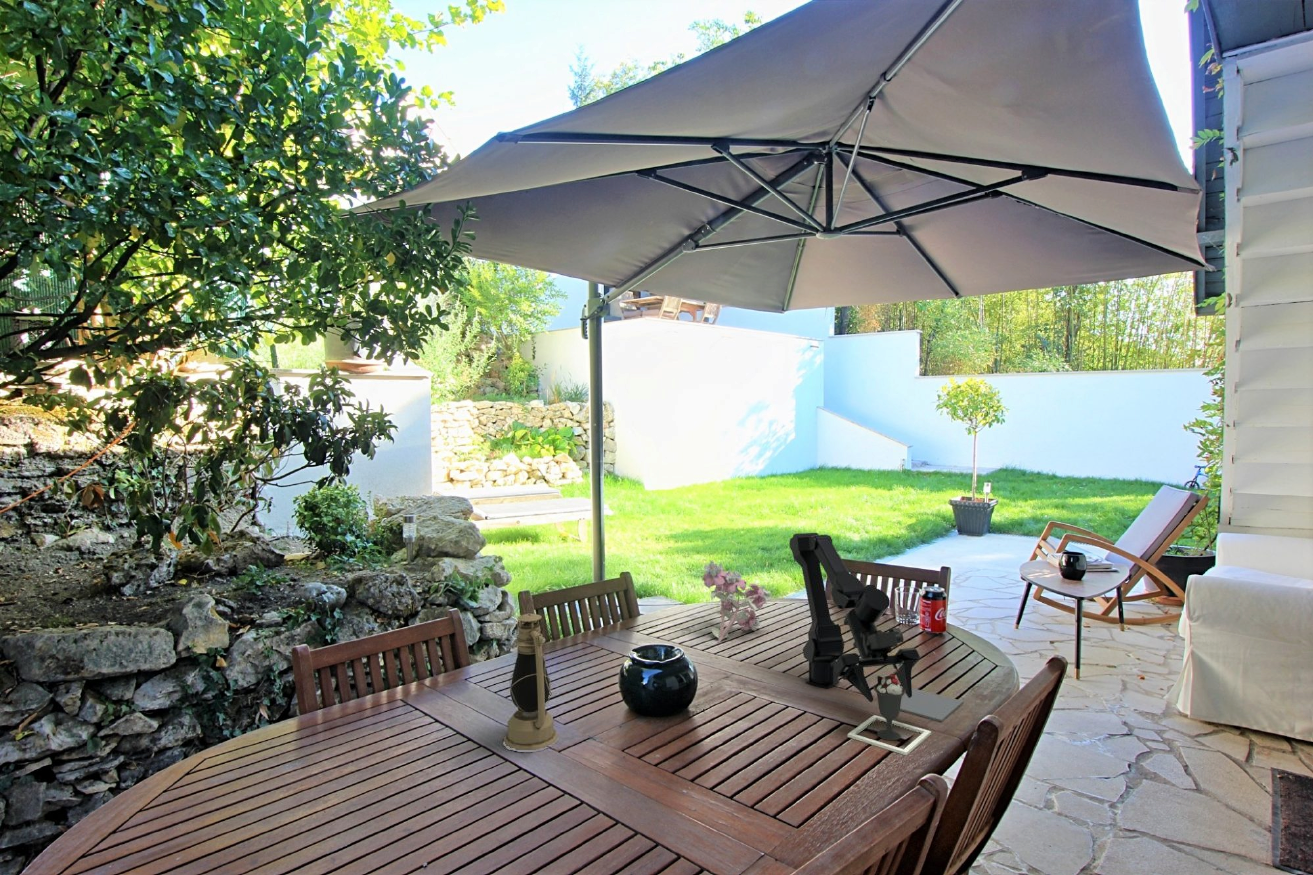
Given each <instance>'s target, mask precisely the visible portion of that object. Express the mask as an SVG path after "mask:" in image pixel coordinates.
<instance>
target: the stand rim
mask: <svg viewBox="0 0 1313 875" xmlns="http://www.w3.org/2000/svg"><path fill="white" fill-rule="evenodd" d="M876 719H878V720H880V721H879V722H881V721H884V722H886V719H885V718H884V717H883V716H879V715H875V714H874V715H872V716H871V717H869V718H868V719H866V720H865V721H864V722H862V723H861V724H859V725H858V726H857V727H856V728H854V729H852V730H851V731H850V732H848V733H847V738H850V739H853V740H857V741H859V742H862V743H865V744H869V745H872V746H876V747H879V748H880V749H881V748H882V749H884V750H888V751H891V752H895V753H897V754H901V755H903V756H908V755H909V754H910V753H912V751H913V750H915V749H916V748H917V747H918V746H920V745H921V744H922V743H923V742H924V741H925V740H926V739H927V738H928V737H930V735H932V731H931V730H928V729H924V728H921V727H917V726H914V725H910V724H907V723H903V722H900V721H897V720H895V719H894V720H892V724H894V725H893V726H895V725H897V726H896V727H898V726H900V727H899V728H902V727H904V728H903V729H905V728H906V729H905V730H908V729H909V731H912V732H915V731H916V733H919V732H920V735H919V736H918V737H916V738H915V739H914V740H913V741H912V742H911V743H910V744H908V745H907V746H906V747H905V748H901V747H897V746H894V745H890V744H888V743H885V742H881V741H878V740H875V739H871V738H868V737H865V736H862V735H859V733H861V732H862V731H864V730H865V729H866V728H868V727H869V726H871V725H872V724H873V723H874V722H873V721H875V720H876ZM878 720H876V721H878ZM876 721H875V722H876ZM872 722H873V723H872ZM884 722H883V723H884ZM871 723H872V724H871ZM870 724H871V725H870ZM868 725H869V726H868ZM867 726H868V727H867Z"/></svg>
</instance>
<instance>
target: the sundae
mask: <svg viewBox="0 0 1313 875" xmlns="http://www.w3.org/2000/svg"><path fill="white" fill-rule="evenodd" d="M897 670H898V671H900V670H899V669H897ZM897 670H896V669H895V671H894V672H893V673H890V674H889V675H886V676H884V677H883V676H880V675H877V676H876V678H877V681H876V682H877V684H875V685H873V686H872V687H873V691H874V692H875V693H876V696H877V704H878V711H879V714H880V715H881V717H883V718H885V719H886V723H885V726H886V727H885V729H881V730H878V731H879V732H878V731H877V733H876V734H877V736H878V737H879V738H880V739H882V740H887V741H898V739H899V740H900V739H901V738H902V735H901V733H899V732H898V731H895V730H893V725H892V720H894V721H895V720H896V719H897V718H898V717H899V715H900V712H901V711H900V706H901V699H902V696H903V695H904V694H905V692H906V689H904V688H903V687H902V686H901V684H900V683H899V680H898V678H897V677H896V673H897V672H898V671H897ZM896 671H897V672H896ZM895 672H896V673H895Z"/></svg>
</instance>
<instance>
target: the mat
mask: <svg viewBox="0 0 1313 875" xmlns="http://www.w3.org/2000/svg"><path fill="white" fill-rule="evenodd" d="M963 704H964V700H961V699H956V698H952V697H949V696H946V695H941V694H937V693H933V692H929V691H925V690H921V689H917V688H913V687H912V697H911V698H908V696H907V695H906V693H905V694H904V695H903V696H902V699H901V706H900V710H901V711H900V712H903V711H905V712H904V713H907V712H908V713H907V714H910V713H912V714H911V715H914V716H918V715H919V716H918V717H921V716H922V717H921V718H925V717H926V718H925V719H929V720H933V721H936V722H941V723H942V722H943V721H944V720H946V719H947V718H949V716H951V714H953V713H954V712H955V711H956V710H958V709H959V708H960V707H961V706H963Z"/></svg>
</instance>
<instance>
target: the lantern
mask: <svg viewBox="0 0 1313 875" xmlns="http://www.w3.org/2000/svg"><path fill="white" fill-rule="evenodd" d="M528 604H529V606H530V608H529V610H528ZM526 607H527V613H524V614H521V615H519V616H517V617H516V620H517V622H516V623H517V624H516V638H515V639H514V641H513V644H514V645H516V646H517V648H516V649H517V653H516V659H515V663H514V664H515V665H514V668H513V672H512V674H511V675H510V678H509V681H510V684H509V694H510V697H511V701H512V703H513V705H514V706H515V707H516V708H517V710H516V711H515V712H514V713H513V714H512V716H511V717H510V718H509V719H508V721H507V733H506V734H505V735H504V736H503V738H504V742H505V744H506V746H509V747H510V748H515V749H516V750H536V749H540V748H545V747H546V746H549V745H551V744H552V743H554V742H556V740H557V738H558V734H557V733H558V731H556V730H555V728H554V726H555V725H554V717H553V716H552V715H551V714H550V713H549V711H548V710H546V707H547V705H548V703H549V701H550V698H551V696H553V693H552V680H551V677H550V676H549V674H548V670H547V666H546V664H547V663H546V661H547V660H546V658H547V657H546V654H545V653H543V644H544V643H546V637H543V633H541V625H540V622H539V620H541V619H542V615H541V614H537V613H536V614H535V613H532V612H531V611H532V605H531V602H530V600H529V601H527V602H526ZM523 622H524V623H523Z"/></svg>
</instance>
